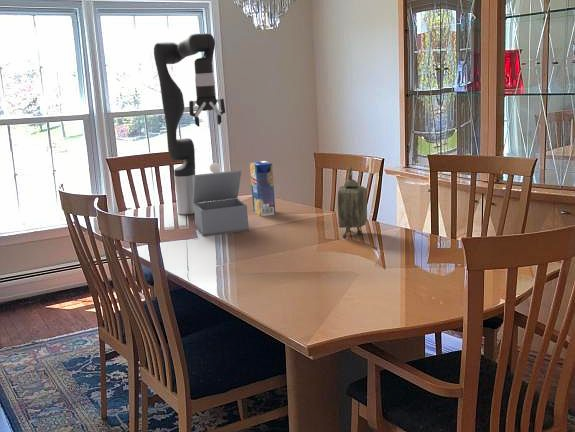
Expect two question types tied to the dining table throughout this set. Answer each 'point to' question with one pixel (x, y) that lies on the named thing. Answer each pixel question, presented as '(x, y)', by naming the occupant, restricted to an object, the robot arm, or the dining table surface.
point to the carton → (221, 217)
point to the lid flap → (216, 185)
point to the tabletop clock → (352, 205)
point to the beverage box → (262, 188)
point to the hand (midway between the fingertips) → (208, 125)
